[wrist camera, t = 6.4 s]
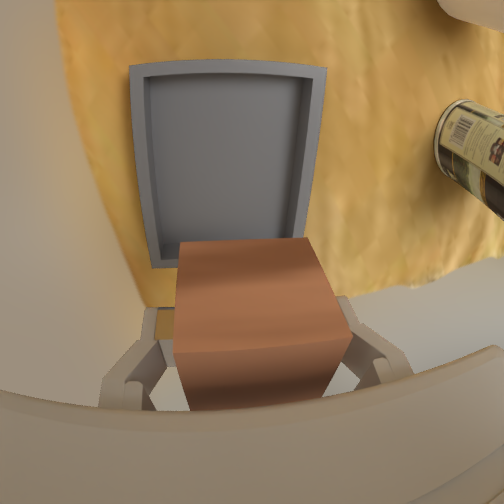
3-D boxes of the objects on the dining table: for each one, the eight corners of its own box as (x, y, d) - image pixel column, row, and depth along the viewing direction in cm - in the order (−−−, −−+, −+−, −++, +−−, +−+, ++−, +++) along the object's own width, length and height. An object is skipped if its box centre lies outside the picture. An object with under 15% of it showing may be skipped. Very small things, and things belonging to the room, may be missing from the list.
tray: (140, 64, 19) (129, 65, 16) (312, 65, 21) (327, 67, 18) (156, 246, 30) (152, 268, 27) (290, 241, 32) (298, 262, 29)
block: (180, 242, 11) (172, 352, 7) (307, 237, 12) (352, 336, 8) (191, 325, 14) (193, 419, 10) (290, 319, 15) (315, 406, 11)
